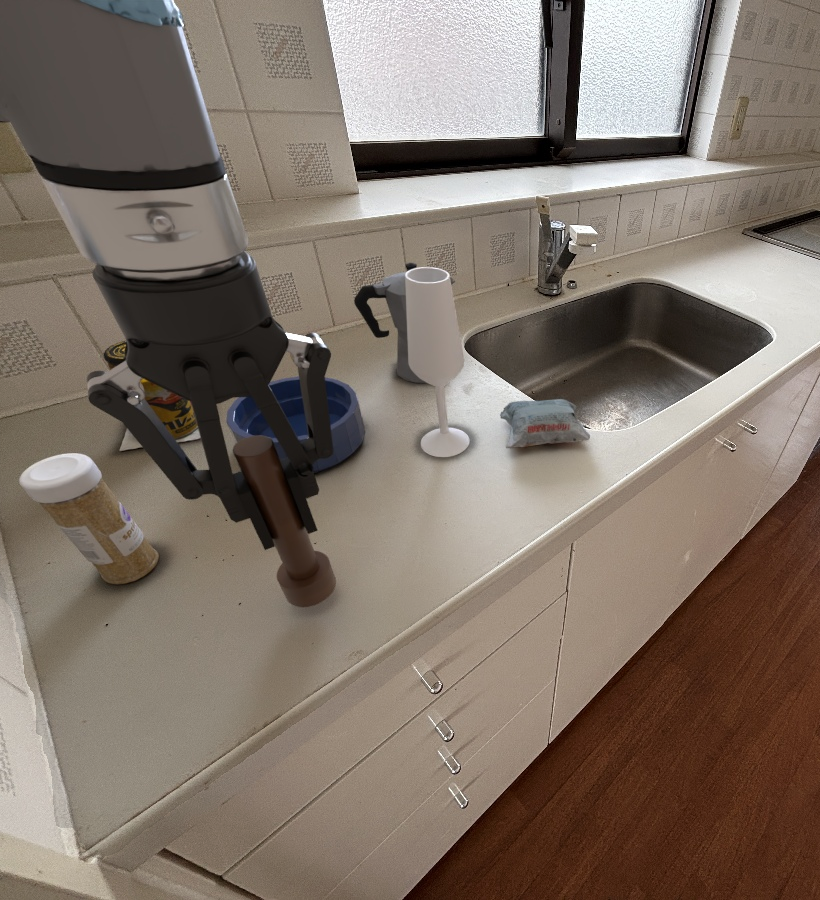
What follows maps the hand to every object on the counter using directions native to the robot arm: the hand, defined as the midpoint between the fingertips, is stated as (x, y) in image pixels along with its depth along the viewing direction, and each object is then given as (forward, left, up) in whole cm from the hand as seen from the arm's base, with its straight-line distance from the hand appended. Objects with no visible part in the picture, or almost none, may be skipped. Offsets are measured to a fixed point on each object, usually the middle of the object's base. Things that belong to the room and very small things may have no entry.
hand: (287, 529), depth 43 cm
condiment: (-26, +28, -11) cm, 40 cm away
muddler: (0, 0, -9) cm, 9 cm away
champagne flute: (+10, +25, -11) cm, 29 cm away
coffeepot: (+4, +44, -11) cm, 45 cm away
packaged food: (+24, +26, -11) cm, 37 cm away
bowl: (-8, +25, -11) cm, 28 cm away
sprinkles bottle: (-19, +5, -11) cm, 22 cm away
